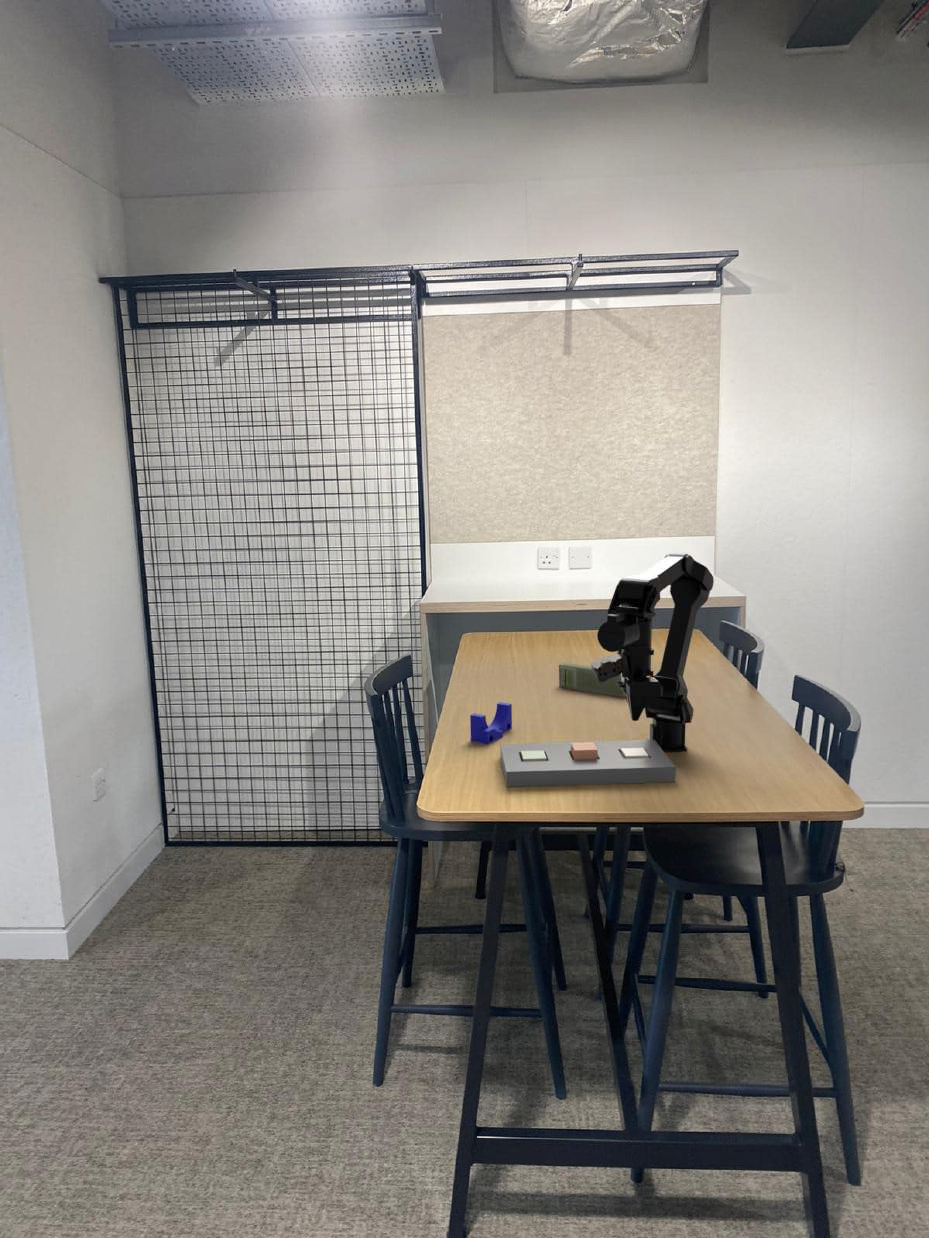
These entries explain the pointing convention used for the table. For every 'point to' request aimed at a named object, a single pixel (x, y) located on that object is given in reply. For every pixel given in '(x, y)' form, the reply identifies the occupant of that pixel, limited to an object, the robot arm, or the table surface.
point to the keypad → (585, 765)
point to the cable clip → (496, 728)
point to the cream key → (633, 753)
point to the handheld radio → (587, 680)
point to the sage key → (533, 756)
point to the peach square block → (584, 751)
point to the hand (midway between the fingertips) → (634, 720)
